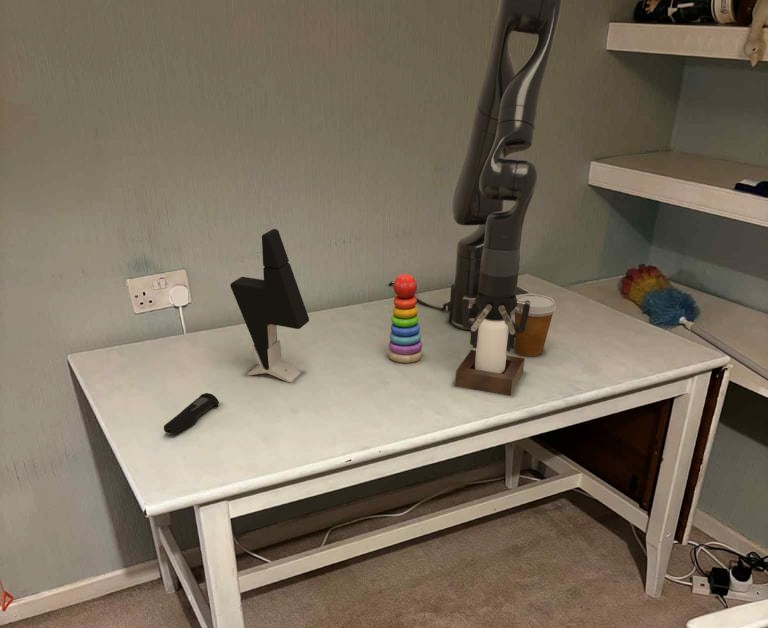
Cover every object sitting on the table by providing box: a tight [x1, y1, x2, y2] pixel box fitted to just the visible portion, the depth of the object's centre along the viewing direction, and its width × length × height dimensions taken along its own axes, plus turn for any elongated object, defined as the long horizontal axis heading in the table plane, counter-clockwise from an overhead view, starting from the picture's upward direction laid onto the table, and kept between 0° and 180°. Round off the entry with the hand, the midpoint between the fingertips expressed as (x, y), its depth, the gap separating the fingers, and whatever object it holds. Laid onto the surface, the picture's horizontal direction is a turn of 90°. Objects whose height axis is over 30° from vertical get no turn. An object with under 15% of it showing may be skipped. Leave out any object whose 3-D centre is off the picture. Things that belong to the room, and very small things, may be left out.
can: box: [475, 318, 509, 373], centre depth 161 cm, size 6×6×12 cm
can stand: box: [454, 349, 526, 396], centre depth 165 cm, size 12×12×4 cm
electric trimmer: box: [163, 392, 220, 435], centre depth 148 cm, size 4×16×3 cm, turn 158°
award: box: [230, 228, 310, 383], centre depth 158 cm, size 15×5×30 cm, turn 71°
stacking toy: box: [387, 273, 424, 364], centre depth 170 cm, size 8×8×19 cm
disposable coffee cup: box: [514, 293, 557, 357], centre depth 175 cm, size 10×10×12 cm
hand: (491, 347), depth 162 cm, fingers closed on can, 6 cm apart
